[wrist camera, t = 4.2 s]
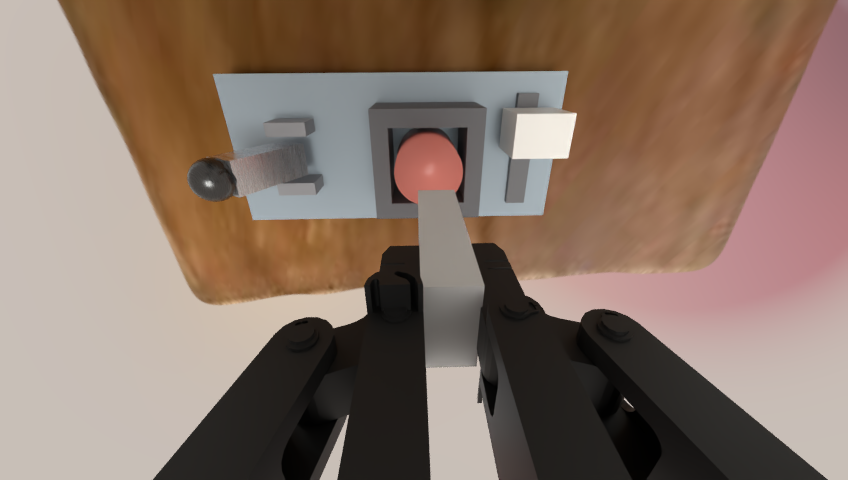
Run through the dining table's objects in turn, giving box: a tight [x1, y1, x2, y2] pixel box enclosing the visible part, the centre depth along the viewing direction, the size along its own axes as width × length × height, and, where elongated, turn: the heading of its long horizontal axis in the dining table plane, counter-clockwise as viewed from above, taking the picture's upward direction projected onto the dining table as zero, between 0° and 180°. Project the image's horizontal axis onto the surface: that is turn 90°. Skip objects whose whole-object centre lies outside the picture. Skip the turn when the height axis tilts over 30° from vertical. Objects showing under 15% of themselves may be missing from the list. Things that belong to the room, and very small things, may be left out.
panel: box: [213, 71, 568, 220], centre depth 26 cm, size 12×27×8 cm, turn 90°
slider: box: [499, 107, 577, 159], centre depth 24 cm, size 3×4×4 cm
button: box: [394, 128, 463, 204], centre depth 24 cm, size 5×5×6 cm
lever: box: [187, 141, 309, 202], centre depth 23 cm, size 3×3×8 cm
